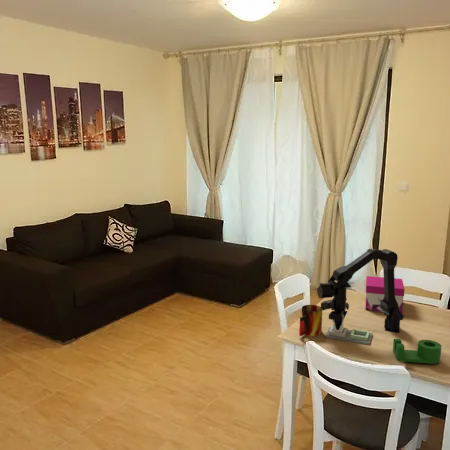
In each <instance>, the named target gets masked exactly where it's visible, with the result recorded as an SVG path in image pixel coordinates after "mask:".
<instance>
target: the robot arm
mask: <svg viewBox="0 0 450 450" xmlns="http://www.w3.org/2000/svg"><path fill="white" fill-rule="evenodd" d="M398 257H399V256H398V254H397V253H396V252H395V251H392V250H390V249H387V248H384V249H374V248H368V249H367V250H366V251H365V252H363V253H362V254H361V255H359V256H358V257H357V258H355V259H354V260H352V261H351V262H350V263H348V264H346V265H342V266H339V267H338V268H336V269H334V270H333V272H332V274H331V276H330V278H329V279H328V281H327V283H325V282H324V283H323V282H320V283H319V285H318V287H317V289H316V293H317V296H318V298H319V299H327V300H323V301H322V302H321V303H320V307H321V308H322V311H326V310H330V309H331V311H330V312H329V314H328V319H329V320H331V321H333V320H334V322H335V326H336V330H339V328H340V326H341V324H342V322H343V320H344V319H345V318H346V315H347V313H348V311H349V309H350V304H349V303H348V302H347V300H348V299H347V289H348V288H349V289H350V288H352V285H350V283H349V282H350V281H351V279H352V278H353V276H354V274H356V272H358V271H359V270H361V269H362V268H364V267H365V266H366V265H367V264H369V263H371V262H372V261H373V260H379V261H380V262H379V263H380V265H381V266H382V268H383V277H384V298H383V300H380V308H381V309H382V311H383V312H382V313H383V314H384V316H386V317H385V318H384V328H383V329H384V330H385V331H386V332H392V333H393V332H394V333H400V330H401V326H400V325H401V321H403V320H404V318H405V316H404V314H403V312H402V313H401V312H400V311H399V306H398V303H397V301H396V298H395V280H394V278H395V268H396V267H397V264H398V260H399V259H398ZM328 298H331V299H328ZM344 321H345V320H344ZM334 322H333V323H334Z"/></svg>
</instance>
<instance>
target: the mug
mask: <svg viewBox="0 0 450 450" xmlns="http://www.w3.org/2000/svg"><path fill="white" fill-rule="evenodd" d="M322 323H323V310H322V308H321V305H316V304H305V305H302V307H301V316H300V317H299V336H300V337H302V336H304V335H306V336H311V337H313V336H314V337H315V336H317V337H318V336H320V335H321V334H322V330H323V329H322V328H323V324H322ZM299 336H298V337H299Z"/></svg>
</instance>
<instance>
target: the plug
mask: <svg viewBox="0 0 450 450" xmlns="http://www.w3.org/2000/svg"><path fill="white" fill-rule="evenodd" d="M344 321H345V320H343V322H342V324H341V326H340V328H339V330H336V326H335V322H334V320H332V323H333V325H332V326H333V331H335V332H341V333H343V327H344V324H345V323H344Z"/></svg>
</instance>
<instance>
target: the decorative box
mask: <svg viewBox="0 0 450 450" xmlns="http://www.w3.org/2000/svg"><path fill="white" fill-rule="evenodd" d="M394 280H395V298H396V301H397V303H398V306H399V311H400V312H401V313H402V314H403V305H404V296H405V285H404V280H403V278H396V277H394ZM365 282H366V283H365V311H372V312H380V313H384V312H383V311H382V309H381V308H380V300H383V298H384V276H383V277H381V276H380V277H379V276H369V275H367V276H366V280H365Z"/></svg>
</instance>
